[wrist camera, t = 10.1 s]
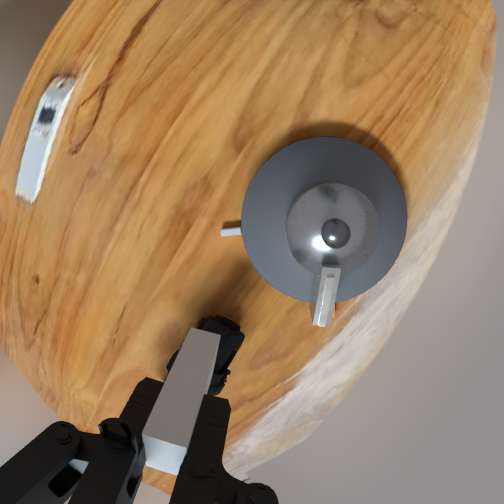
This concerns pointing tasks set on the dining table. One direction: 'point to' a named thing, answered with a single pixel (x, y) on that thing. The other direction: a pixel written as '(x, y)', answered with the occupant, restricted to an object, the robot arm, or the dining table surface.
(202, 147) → the dining table surface
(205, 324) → the tool
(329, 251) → the dial
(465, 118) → the dining table surface
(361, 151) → the dial plate
